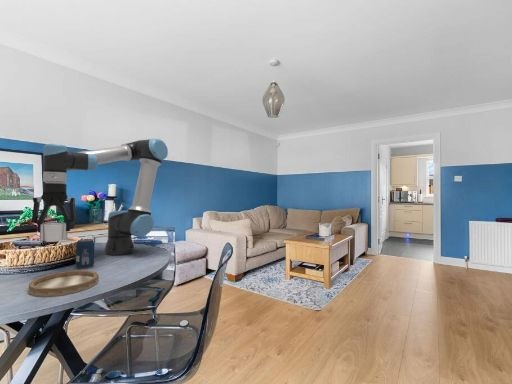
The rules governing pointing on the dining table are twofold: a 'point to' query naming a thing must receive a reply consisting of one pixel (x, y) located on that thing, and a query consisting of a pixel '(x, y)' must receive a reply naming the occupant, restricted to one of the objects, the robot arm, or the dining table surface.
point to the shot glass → (53, 231)
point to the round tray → (63, 283)
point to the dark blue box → (85, 253)
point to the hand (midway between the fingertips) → (54, 239)
